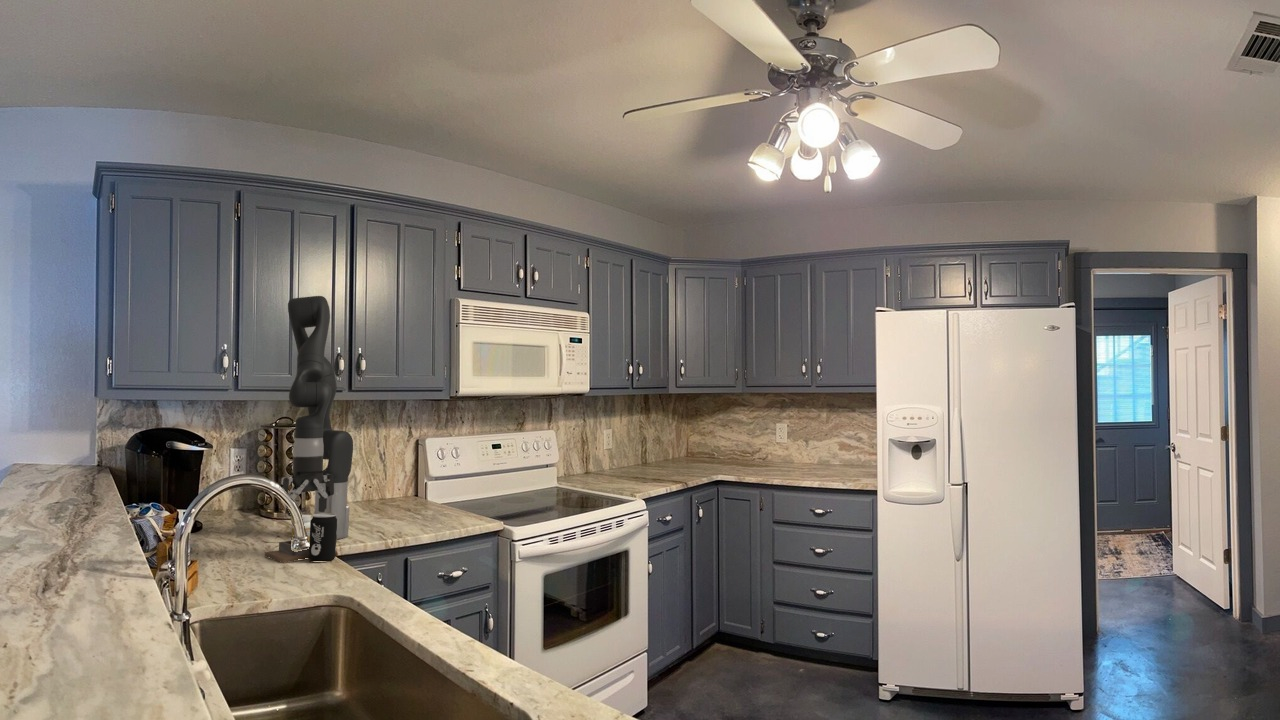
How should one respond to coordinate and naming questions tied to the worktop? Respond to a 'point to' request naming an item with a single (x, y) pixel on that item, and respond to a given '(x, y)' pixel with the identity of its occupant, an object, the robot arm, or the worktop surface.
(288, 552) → the bottle holder
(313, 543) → the beverage can
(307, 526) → the supplement bottle
